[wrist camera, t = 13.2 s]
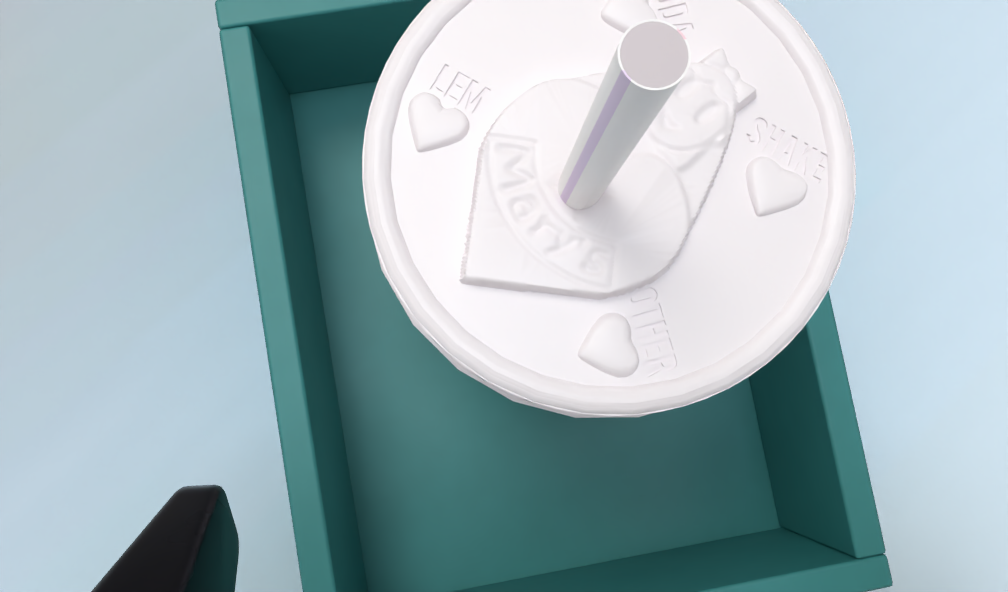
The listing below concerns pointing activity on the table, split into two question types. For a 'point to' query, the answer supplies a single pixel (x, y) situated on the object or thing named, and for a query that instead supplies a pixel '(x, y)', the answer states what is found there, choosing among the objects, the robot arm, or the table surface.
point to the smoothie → (608, 193)
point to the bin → (486, 413)
